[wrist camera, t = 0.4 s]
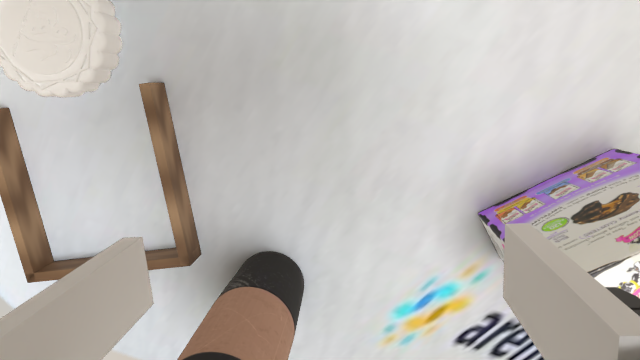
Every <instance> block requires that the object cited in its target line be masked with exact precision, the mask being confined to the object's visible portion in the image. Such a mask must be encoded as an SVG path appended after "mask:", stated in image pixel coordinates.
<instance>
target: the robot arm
mask: <svg viewBox="0 0 640 360" xmlns="http://www.w3.org/2000/svg"><path fill="white" fill-rule="evenodd" d="M503 298H504V299H505V301H506V302H507V304H508V305H509V307H510V308H511V310H512V311H513V313H514V314H515V316H516V317H517V319H518V320H519V322H520V323H521V325H522V326H523V328H524V329H525V331H526V332H527V334H528V335H529V337H530V338H531V340H532V341H533V343H534V344H535V346H536V347H537V349H538V350H539V352H540V353H541V355H542V356H543V358H544V359H545V360H640V298H638V297H637V296H635V295H633V294H631V293H629V292H626V291H624V290H622V289H620V288H618V287H604V286H603V285H602V284H600V283H599V282H598V281H597V280H596V279H594V278H593V277H592V276H591V275H590V274H588V273H587V272H586V271H585V270H584V269H583V268H581V267H580V266H579V265H578V264H577V263H575V262H574V261H573V260H572V259H571V258H569V257H568V256H567V255H566V254H565V253H563V252H562V251H561V250H560V249H559V248H557V247H556V246H555V245H554V244H553V243H552V242H550V241H549V240H548V239H547V238H546V237H544V236H543V235H542V234H541V233H540V232H538V231H537V230H536V229H535V228H534V227H532V226H531V225H530V224H529V223H516V224H505V244H504V283H503ZM153 304H154V302H153V296H152V291H151V285H150V279H149V273H148V267H147V262H146V256H145V250H144V244H143V238H142V237H130V238H122V239H120V240H119V241H117V242H116V243H114V244H113V245H111V246H110V247H108V248H107V249H105V250H104V251H102V252H101V253H99V254H98V255H96V256H95V257H93V258H91V259H90V260H88V261H87V262H85V263H84V264H82V265H81V266H79V267H78V268H76V269H75V270H73V271H72V272H70V273H69V274H67V275H66V276H64V277H63V278H61V279H60V280H58V281H56V282H55V283H53V284H52V285H50V286H49V287H47V288H46V289H44V290H43V291H41V292H40V293H38V294H37V295H35V296H34V297H32V298H31V299H29V300H28V301H26V302H25V303H23V304H21V305H20V306H18V307H17V308H15V309H14V310H12V311H11V312H9V313H8V314H6V315H5V316H3V317H2V318H0V360H102V359H103V358H104V357H105V356H106V355H107V353H108V352H109V351H110V350H111V349H112V348H113V347H114V346H115V345H116V344H117V343H118V342H119V341H120V339H121V338H122V337H123V336H124V335H125V334H126V333H127V332H128V331H129V330H130V329H131V328H132V327H133V326H134V324H135V323H136V322H137V321H138V320H139V319H140V318H141V317H142V316H143V315H144V314H145V313H146V312H147V310H148V309H149V308H150V307H151V306H152V305H153Z"/></svg>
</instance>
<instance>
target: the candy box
mask: <svg viewBox="0 0 640 360" xmlns="http://www.w3.org/2000/svg"><path fill="white" fill-rule="evenodd" d="M478 215H479V217H480V219H481V221H482V223H483V225H484V227H485V229H486V230H487V232H488V235H489V237H490V239H491V241H492V243H493V245H494V247H495V249H496V251H497V253H498V254H499V256H500V258H501V259H502V260H503V262H504V244H505V224H516V223H529V224H530V225H531V226H532V227H534V228H535V229H536V230H537V231H538V232H540V233H541V234H542V235H543V236H544V237H546V238H547V239H548V240H549V241H550V242H552V243H553V244H554V245H555V246H556V247H557V248H559V249H560V250H561V251H562V252H563V253H565V254H566V255H567V256H568V257H569V258H571V259H572V260H573V261H574V262H575V263H577V264H578V265H579V266H580V267H581V268H583V269H584V270H585V271H586V272H587V273H588V274H590V275H591V276H592V277H593V278H594V279H596V280H597V281H598V282H599V283H600V284H602V285H603V286H604V287H618V288H620V289H622V290H624V291H626V292H629V293H631V294H633V295H635V296H637V297H638V298H640V155H639V154H635V153H630V152H625V151H622V150H619V149H613V150H610V151H608V152H605V153H603V154H601V155H599V156H597V157H595V158H593V159H591V160H589V161H587V162H585V163H583V164H581V165H578V166H576V167H574V168H572V169H570V170H568V171H566V172H564V173H562V174H560V175H557V176H555V177H553V178H551V179H549V180H547V181H544V182H542V183H540V184H538V185H536V186H534V187H532V188H530V189H528V190H526V191H524V192H522V193H520V194H518V195H516V196H514V197H512V198H510V199H507V200H505V201H503V202H501V203H499V204H497V205H494V206H492V207H490V208H488V209H486V210H484V211H482V212H480V213H478Z"/></svg>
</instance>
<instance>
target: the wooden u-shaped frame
mask: <svg viewBox="0 0 640 360" xmlns="http://www.w3.org/2000/svg"><path fill="white" fill-rule="evenodd" d="M139 87H140V91H141V96H142V100H143V104H144V109H145V113H146V117H147V122H148V126H149V130H150V135H151V139H152V143H153V148H154V152H155V156H156V161H157V165H158V170H159V174H160V178H161V183H162V187H163V191H164V196H165V200H166V204H167V209H168V213H169V217H170V222H171V226H172V230H173V235H174V239H175V243H176V248H170V249H161V250H152V251H145V256H146V262H147V267H148V270H154V269H164V268H173V267H183V266H190V265H191V264H192V263H193V262H194V261H195V260H196V259H197V258H198V257H199V256H200V255H201V251H200V246H199V241H198V237H197V232H196V228H195V223H194V218H193V214H192V209H191V205H190V200H189V195H188V191H187V186H186V182H185V177H184V173H183V168H182V163H181V159H180V154H179V150H178V145H177V140H176V136H175V131H174V127H173V122H172V117H171V113H170V108H169V104H168V99H167V95H166V90H165V85H164V83H144V84H139ZM0 195H1V198H2V202H3V205H4V208H5V211H6V215H7V218H8V221H9V224H10V227H11V231H12V234H13V237H14V240H15V243H16V247H17V250H18V253H19V256H20V260H21V263H22V266H23V269H24V272H25V276H26V279H27V282H28V283H30V282H40V281H49V280H59V279H61V278H63V277H64V276H66V275H67V274H69V273H70V272H72V271H73V270H75V269H76V268H78V267H79V266H81V265H82V264H84V263H85V262H87V261H88V260H90V259H91V258H93V257H89V258H80V259H71V260H62V261H54V260H53V257H52V253H51V250H50V247H49V243H48V240H47V236H46V233H45V230H44V226H43V223H42V219H41V216H40V213H39V209H38V206H37V202H36V199H35V196H34V192H33V189H32V185H31V182H30V179H29V175H28V172H27V168H26V165H25V162H24V158H23V155H22V151H21V148H20V145H19V141H18V138H17V134H16V131H15V128H14V124H13V121H12V117H11V114H10V111H9V108H0Z"/></svg>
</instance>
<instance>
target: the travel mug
mask: <svg viewBox="0 0 640 360" xmlns="http://www.w3.org/2000/svg"><path fill="white" fill-rule="evenodd" d="M303 291H304V279H303V276H302V273H301V271H300V269H299V267H298V266H297V264H296V263H295V262H294V261H293V260H291V259H290V258H289V257H287V256H285V255H283V254H281V253H277V252H262V253H258V254H256V255H254V256H252V257H251V258H249V259H248V260H247V261H246V262H245V263H244V264H243V265H242V267H241V268H240V269H239V271H238V272H237V273H236V275H235V276H234V277H233V279H232V280H231V281H230V283H229V284H228V285H227V287H226V288H225V289H224V291H223V292H222V293H221V295H220V296H219V297H218V299H217V300H216V301H215V303H214V304H213V306H212V307H211V309H210V310H209V312H208V313H207V315H206V316H205V318H204V319H203V321H202V323H201V324H200V326H199V327H198V329H197V330H196V332H195V333H194V335H193V336H192V338H191V339H190V341H189V343H188V344H187V346H186V347H185V349H184V350H183V352H182V353H181V355H180V356H179V358H178V359H177V360H288V357H289V353H290V350H291V346H292V343H293V339H294V335H295V330H296V325H297V321H298V316H299V311H300V306H301V301H302V297H303Z"/></svg>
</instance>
